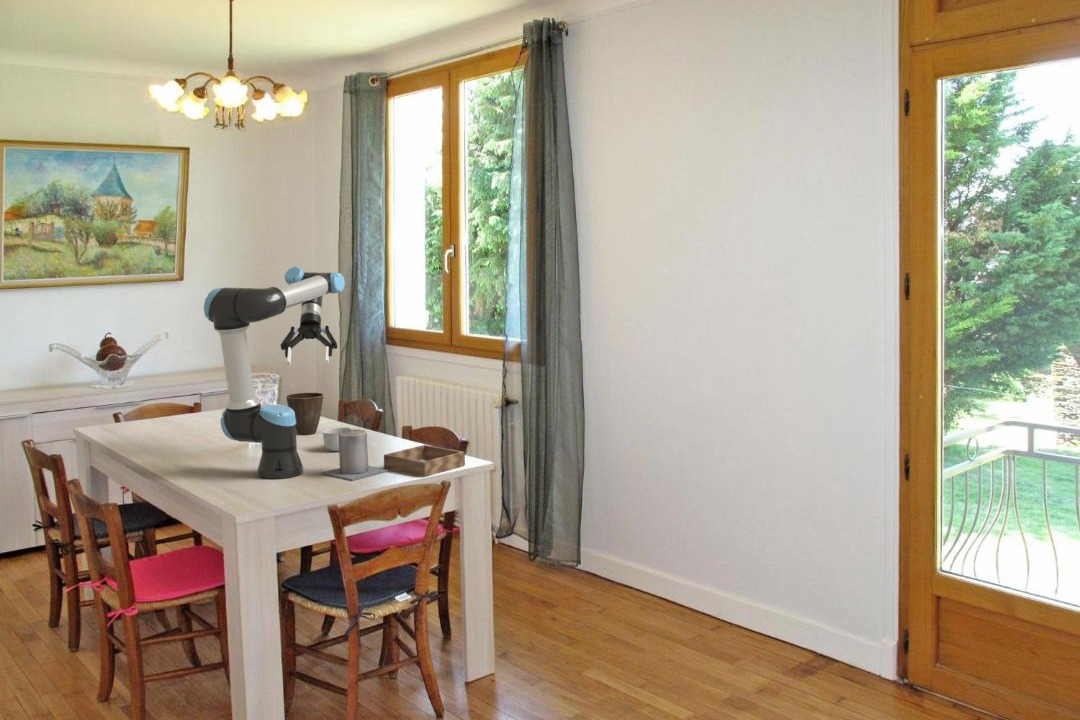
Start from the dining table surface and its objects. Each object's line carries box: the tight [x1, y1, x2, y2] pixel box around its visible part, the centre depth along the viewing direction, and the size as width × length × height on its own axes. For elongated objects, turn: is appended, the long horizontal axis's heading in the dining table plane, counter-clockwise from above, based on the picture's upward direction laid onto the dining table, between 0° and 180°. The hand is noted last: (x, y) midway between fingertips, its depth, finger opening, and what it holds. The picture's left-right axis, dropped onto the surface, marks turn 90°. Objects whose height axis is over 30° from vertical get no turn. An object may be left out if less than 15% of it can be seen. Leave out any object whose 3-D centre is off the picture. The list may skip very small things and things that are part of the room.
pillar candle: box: [338, 428, 369, 474], centre depth 343 cm, size 10×10×15 cm
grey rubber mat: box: [321, 465, 389, 482], centre depth 344 cm, size 16×16×1 cm
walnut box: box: [383, 444, 466, 478], centre depth 350 cm, size 20×20×5 cm
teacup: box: [322, 426, 353, 452], centre depth 381 cm, size 14×11×8 cm
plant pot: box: [285, 392, 324, 436], centre depth 412 cm, size 15×15×16 cm
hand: (307, 363), depth 360 cm, fingers open, 13 cm apart
